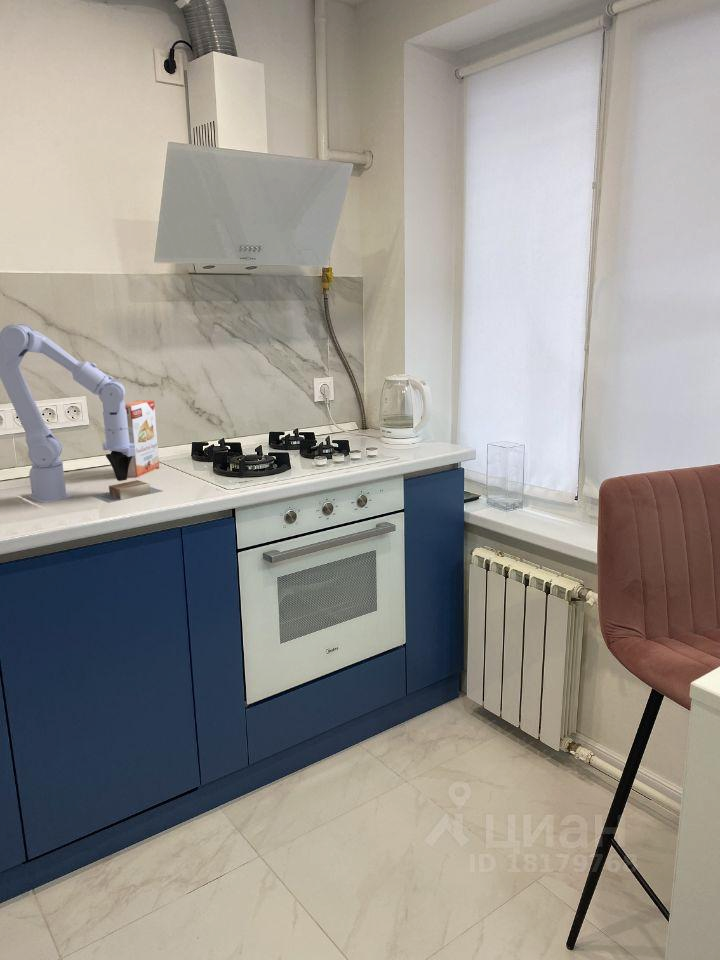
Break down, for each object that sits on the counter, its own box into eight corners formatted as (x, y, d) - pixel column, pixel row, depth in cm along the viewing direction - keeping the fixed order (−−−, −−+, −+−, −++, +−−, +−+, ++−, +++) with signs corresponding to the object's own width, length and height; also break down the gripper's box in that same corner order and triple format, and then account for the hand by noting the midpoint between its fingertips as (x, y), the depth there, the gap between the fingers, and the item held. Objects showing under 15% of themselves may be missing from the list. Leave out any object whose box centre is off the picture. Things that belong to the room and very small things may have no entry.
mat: (91, 497, 186) (91, 495, 185) (145, 486, 196) (145, 485, 195) (108, 504, 178) (108, 502, 178) (163, 492, 189) (163, 491, 188)
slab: (108, 485, 185) (120, 489, 180) (137, 480, 190) (149, 483, 186) (109, 495, 186) (121, 499, 181) (138, 489, 191) (150, 493, 186)
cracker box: (138, 478, 205) (131, 405, 200) (119, 478, 207) (111, 405, 202) (161, 468, 219) (154, 399, 214) (143, 467, 220) (136, 399, 215)
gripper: (144, 429, 182) (149, 481, 186) (118, 423, 193) (123, 473, 196) (118, 433, 178) (123, 486, 181) (92, 427, 188) (98, 478, 191)
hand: (122, 480), depth 188 cm, fingers closed
